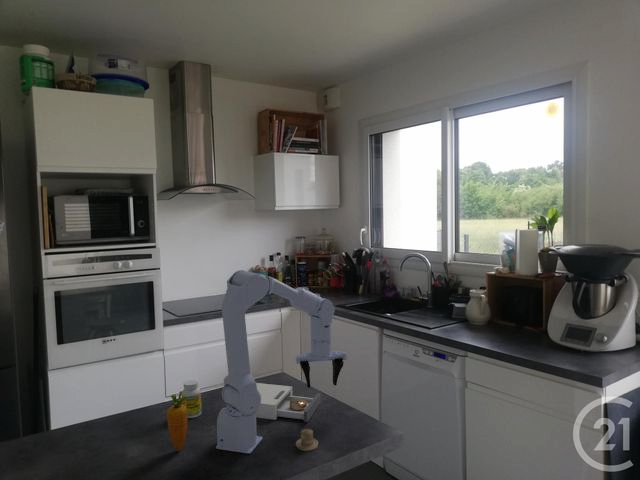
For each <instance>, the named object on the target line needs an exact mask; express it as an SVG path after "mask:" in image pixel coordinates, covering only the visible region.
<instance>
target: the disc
mask: <svg viewBox="0 0 640 480" xmlns="http://www.w3.org/2000/svg"><path fill="white" fill-rule="evenodd" d="M306 408H307V402H306V401H305V400H303V399H294V400H291V401H290V410H292V411H303V410H305V409H306Z"/></svg>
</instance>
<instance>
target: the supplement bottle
mask: <svg viewBox="0 0 640 480" xmlns="http://www.w3.org/2000/svg"><path fill="white" fill-rule="evenodd" d="M198 386H199V381H197V380H195V379H193V380H191V379H190V380H186V381H184V382H183V388H184V389H183V390H182V395H181V398H182V397H184V396H187V398H186V399H184V400H183V401H182V403H181V405H185V406H186V408H187V411H188V419H193V418H197V417H199V416H201V415H202V412H203V411H202V394H201V393H202V392H201V389H200V387H198Z"/></svg>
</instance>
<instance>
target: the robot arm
mask: <svg viewBox="0 0 640 480" xmlns="http://www.w3.org/2000/svg"><path fill="white" fill-rule="evenodd" d="M226 286H227V287H226V288H227V289H226V291H225V294H224V297H223V300H222V304H221V312H222V313H221V315H222V323H223V332H224V333H223V334H224V342H225V343H224V344H225V352H226V353H225V354H226V362H227V372H228V374H227V375H226V376H225V377H224V378H223V388H222V391H221V397H222V401H223V402H224V403H225V404H226V407H223V408H221V409H220V410H219V413H218V415H217V418H216V419H217V420H216V439H217V440H216V443H217V445H216V446H215V449H217V450H223V451H229V452H237V453H243V454H251V453H253V451H254V450H255V449H256V447H257V446H258V445H259V444H260V443H261V442H262V441H263V439H264V438H263V436H259V435H257V417H256V412H257V409H258V408H259V406H260V403H261V395H260V393H259V392H258V390H257V386H256V383H257V382H256V380H255V378H254V376H253V375H252V373H251V366H250V357H249V355H250V354H249V345H248V336H247V335H248V333H247V325H246V323H247V322H246V315H245V314H246V312H247V310H249V308H251V307H252V306H253V305H255V304H256V303H257V302H259V301H260V300H261V299H263V298H264V297H265V296H266V295H271V294H275V295H276V296H279V297H282V298H283V299H286V300H289V304H290V306H292V307H293V308H294V309H297V310H299V311H302V312H304V313H306V314H307V315H308V316H309V317H310V352H307V353H302V354H301V353H300V354H295V362H296V364H299V365H300V368H301V370H302V372H303V374H304V378H305V382H306V387H307V388H308V389H310V388H311V378H310V377H311V375H310V373H311V366H310V363H311V362H313V363H314V362H326V361H327V362H328V361H331V363H332V384H333V386H334V387H335V386H337V383H338V379H339V375H340V373H341V371H342V368H343V366H344V361H347V352H346V351H335V350H334V351H332V336H331V333H332V331H331V329H332V328H331V325H332V322H333V316H334V314H335V312H336V307H334V304H333V303H332V300H330V299H328V298H323V297H321V294H319V293H313V292H312V291H310V290H309V287H306V286H302V287H301V286H300V287H296V288H293V287H292V286H289V285H287V284H285V283H284V282H282V281H280V280H278V279H276V278H274V277H273V276H268V275H265V274H262V273H257V272H256V273H255V272H252V271H248V270H247V271H246V270H243V269H241V270H236V271H235V272H234V273H232V274H231V276H230V277H229V278H228V279H227V280H226Z"/></svg>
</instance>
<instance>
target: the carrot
mask: <svg viewBox="0 0 640 480" xmlns="http://www.w3.org/2000/svg"><path fill="white" fill-rule="evenodd" d="M182 391H183V390H182ZM182 391H179V393H178V396H177V395H176V394H175V393H173V394H172V395H170V398H171V399H172V404H173V405H171V406H170V407H169V408H168V409H167V411H166V414H167V415H166V417H167V427H168V428H167V429H168V433H169V436H170V437H169V438H170V440H171V442H172V444H173V446H174V448H175V450H176V451H178V452H180V451H181V450H182V448H183V447H184V443H185V441H186V438H187V432H188V426H189V425H188V422H189V421H188V420H189V418H188V411H187V408H186V406H185V405H182V401H183V400H184V399H186V398H187V396H184V397H182ZM177 397H178V398H177Z"/></svg>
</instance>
